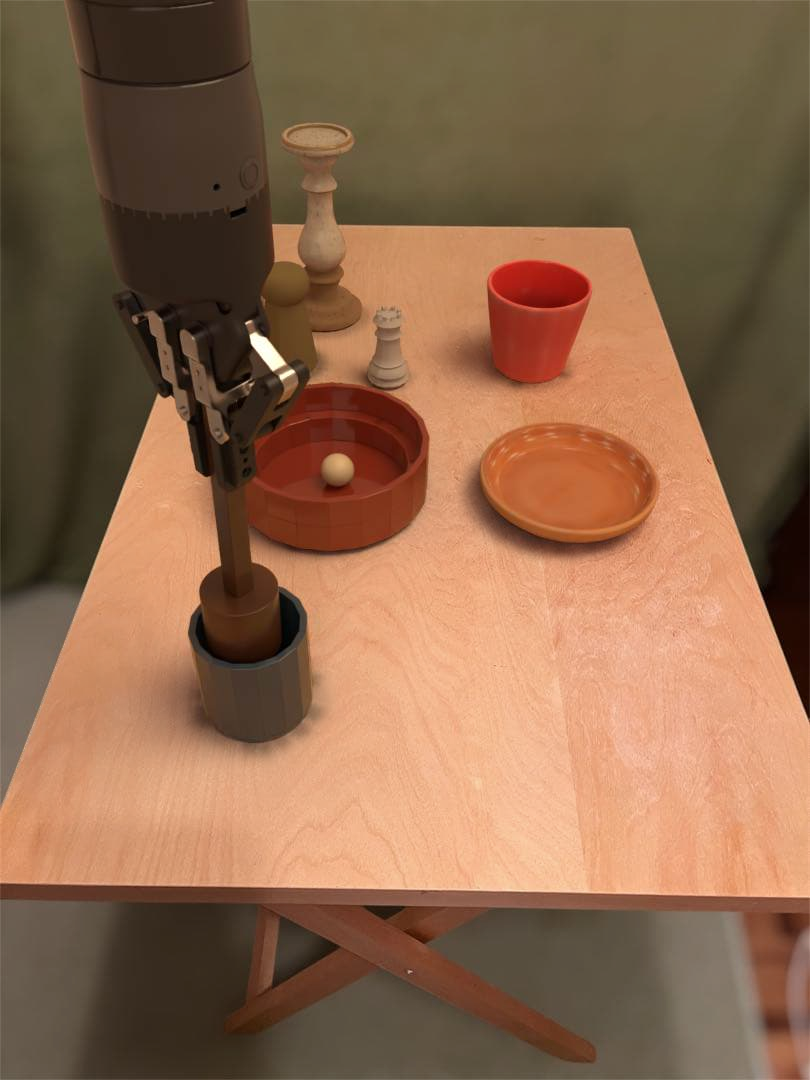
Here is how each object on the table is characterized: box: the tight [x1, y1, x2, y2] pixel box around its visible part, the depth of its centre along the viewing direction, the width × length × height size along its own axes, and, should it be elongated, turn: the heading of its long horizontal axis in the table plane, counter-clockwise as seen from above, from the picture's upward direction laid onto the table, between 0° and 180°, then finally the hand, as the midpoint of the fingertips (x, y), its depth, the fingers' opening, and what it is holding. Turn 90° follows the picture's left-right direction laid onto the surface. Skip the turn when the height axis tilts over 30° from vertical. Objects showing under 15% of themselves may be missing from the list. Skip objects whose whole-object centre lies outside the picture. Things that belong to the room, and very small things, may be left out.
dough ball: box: [321, 453, 354, 487], centre depth 82 cm, size 3×3×3 cm
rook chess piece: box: [367, 305, 410, 390], centre depth 94 cm, size 4×4×8 cm
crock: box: [187, 585, 314, 743], centre depth 63 cm, size 8×8×8 cm
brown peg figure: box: [261, 260, 318, 373], centre depth 96 cm, size 6×6×11 cm
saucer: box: [479, 421, 661, 544], centre depth 82 cm, size 16×16×3 cm
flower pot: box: [486, 259, 593, 384], centre depth 97 cm, size 11×11×10 cm
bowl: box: [245, 382, 431, 552], centre depth 81 cm, size 17×17×6 cm
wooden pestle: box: [198, 400, 282, 664], centre depth 55 cm, size 5×5×19 cm
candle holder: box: [279, 122, 363, 332], centre depth 100 cm, size 9×9×20 cm
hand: (226, 475), depth 52 cm, fingers closed on wooden pestle, 1 cm apart
